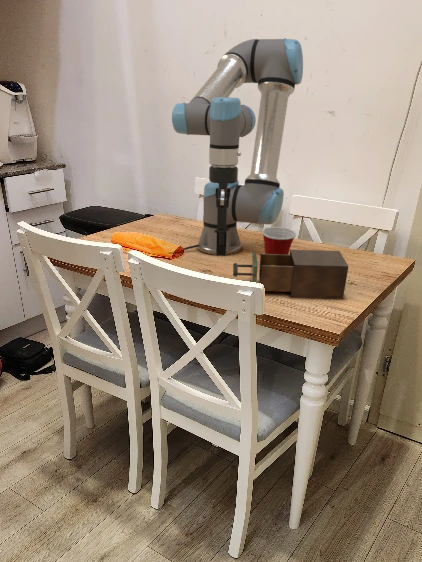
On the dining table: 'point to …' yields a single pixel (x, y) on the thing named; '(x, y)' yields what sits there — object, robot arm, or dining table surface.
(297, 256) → the cabinet
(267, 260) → the drawer
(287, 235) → the plastic cup
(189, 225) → the dining table surface
